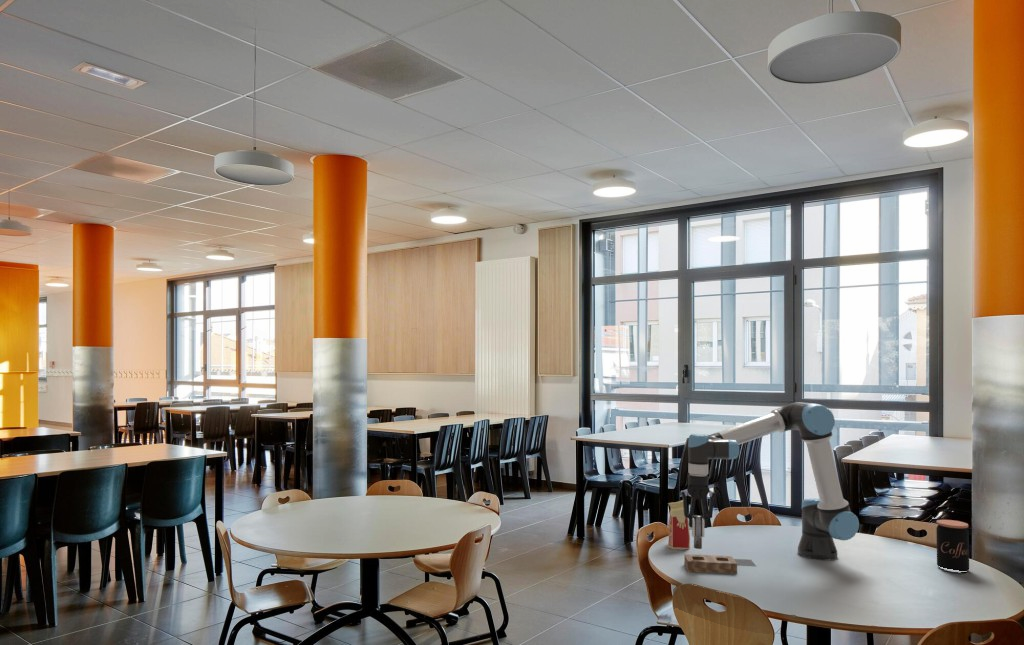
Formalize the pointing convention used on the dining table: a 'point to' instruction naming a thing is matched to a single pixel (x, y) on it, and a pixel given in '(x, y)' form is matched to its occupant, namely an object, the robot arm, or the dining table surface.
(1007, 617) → the dining table surface
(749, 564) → the mat
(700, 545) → the peg
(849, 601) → the dining table surface
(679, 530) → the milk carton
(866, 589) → the dining table surface
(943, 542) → the coffee jar
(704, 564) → the hole block
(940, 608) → the dining table surface
